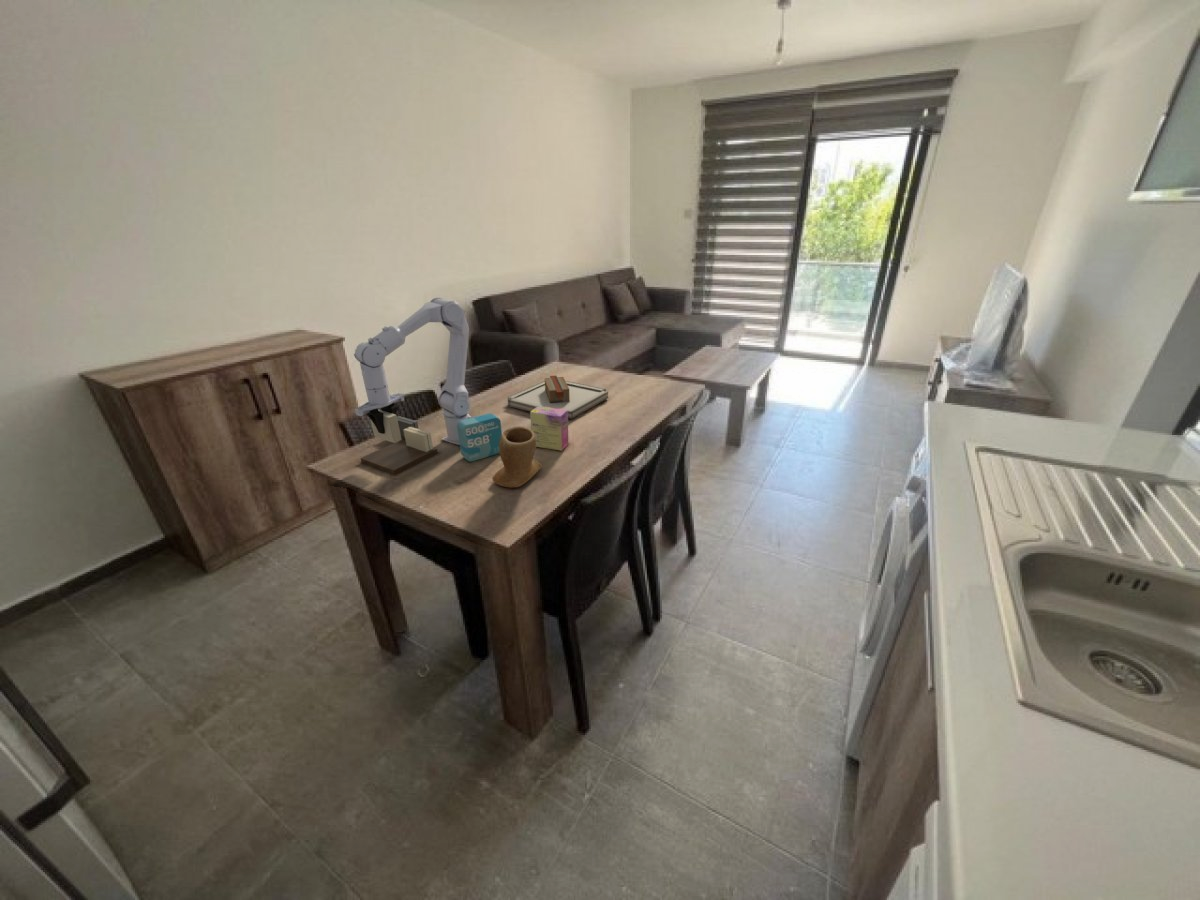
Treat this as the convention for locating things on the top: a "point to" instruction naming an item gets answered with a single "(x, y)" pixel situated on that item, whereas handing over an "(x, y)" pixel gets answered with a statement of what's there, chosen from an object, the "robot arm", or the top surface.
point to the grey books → (406, 424)
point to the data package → (479, 436)
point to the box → (550, 427)
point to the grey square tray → (558, 396)
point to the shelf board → (396, 457)
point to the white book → (388, 428)
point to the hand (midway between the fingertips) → (386, 430)
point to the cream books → (418, 439)
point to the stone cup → (517, 457)
